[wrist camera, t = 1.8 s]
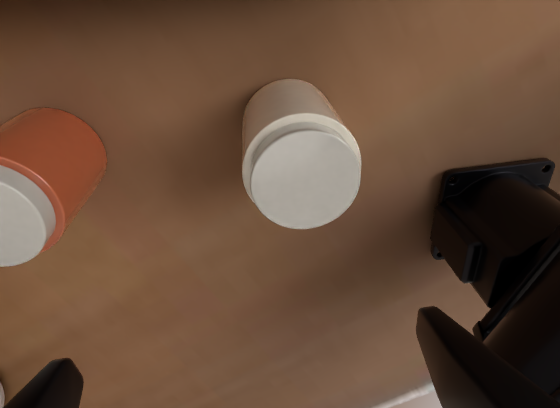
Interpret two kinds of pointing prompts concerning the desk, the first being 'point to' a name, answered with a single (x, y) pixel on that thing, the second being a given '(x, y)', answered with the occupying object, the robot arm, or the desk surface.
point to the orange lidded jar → (44, 179)
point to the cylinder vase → (1, 396)
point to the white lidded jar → (298, 156)
